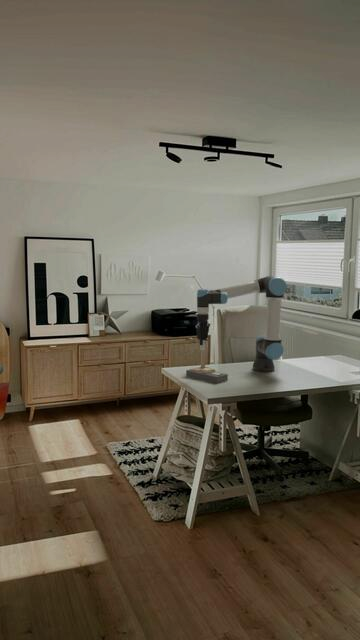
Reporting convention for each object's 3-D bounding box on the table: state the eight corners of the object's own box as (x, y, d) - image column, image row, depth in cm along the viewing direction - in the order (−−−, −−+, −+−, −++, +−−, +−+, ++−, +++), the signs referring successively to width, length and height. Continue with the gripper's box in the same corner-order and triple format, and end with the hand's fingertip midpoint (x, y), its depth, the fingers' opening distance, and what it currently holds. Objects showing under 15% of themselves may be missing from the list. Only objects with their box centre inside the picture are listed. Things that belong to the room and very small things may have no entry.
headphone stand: (201, 373, 349) (202, 340, 346) (194, 369, 359) (195, 337, 356) (215, 372, 353) (216, 339, 350) (208, 368, 363) (209, 337, 360)
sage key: (215, 376, 333) (216, 372, 333) (222, 378, 330) (222, 373, 330) (211, 378, 330) (211, 373, 329) (217, 379, 326) (217, 374, 326)
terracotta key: (196, 372, 344) (196, 368, 343) (202, 373, 340) (202, 369, 340) (191, 373, 340) (191, 369, 340) (197, 375, 337) (197, 370, 336)
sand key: (206, 372, 338) (206, 367, 338) (212, 373, 335) (212, 369, 335) (201, 373, 335) (201, 369, 334) (207, 375, 331) (207, 370, 331)
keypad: (186, 376, 339) (186, 370, 339) (197, 373, 347) (197, 367, 347) (216, 383, 323) (217, 377, 322) (227, 380, 331) (227, 374, 330)
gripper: (204, 312, 343) (204, 347, 346) (191, 313, 333) (191, 350, 336) (213, 313, 338) (213, 349, 341) (200, 315, 328) (200, 352, 331)
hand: (202, 349), depth 339 cm, fingers closed
